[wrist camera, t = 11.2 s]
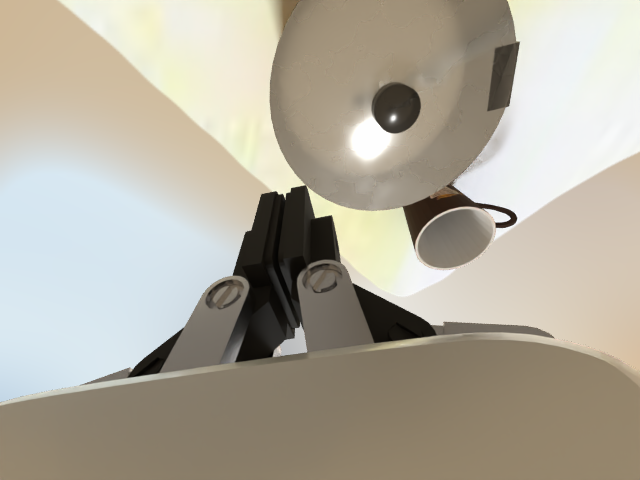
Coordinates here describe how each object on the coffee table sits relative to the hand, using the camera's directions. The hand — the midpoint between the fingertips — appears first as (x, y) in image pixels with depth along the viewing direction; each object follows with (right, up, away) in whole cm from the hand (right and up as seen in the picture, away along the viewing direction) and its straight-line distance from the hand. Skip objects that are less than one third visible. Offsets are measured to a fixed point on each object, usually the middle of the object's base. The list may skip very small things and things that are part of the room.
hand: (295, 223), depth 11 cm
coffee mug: (+17, +5, +30) cm, 34 cm away
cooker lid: (+6, +10, +11) cm, 15 cm away
